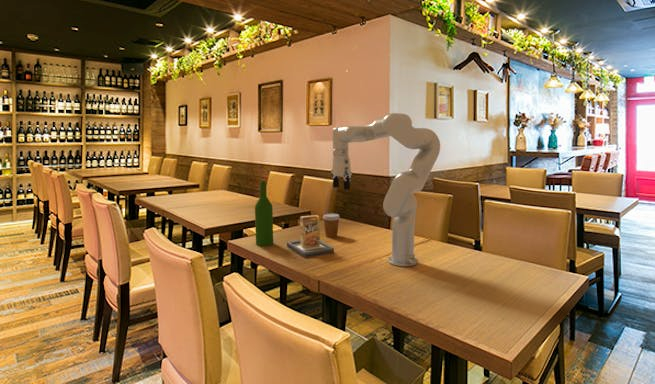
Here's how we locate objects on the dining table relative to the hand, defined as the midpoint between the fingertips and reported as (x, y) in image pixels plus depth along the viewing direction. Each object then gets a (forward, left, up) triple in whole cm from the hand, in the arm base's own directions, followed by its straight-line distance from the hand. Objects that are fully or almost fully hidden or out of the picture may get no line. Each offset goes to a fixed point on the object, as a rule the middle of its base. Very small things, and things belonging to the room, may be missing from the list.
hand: (341, 188), depth 197 cm
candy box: (+5, +15, -29) cm, 33 cm away
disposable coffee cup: (+23, -7, -31) cm, 39 cm away
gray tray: (+5, +15, -30) cm, 34 cm away
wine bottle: (+26, +31, -31) cm, 51 cm away
